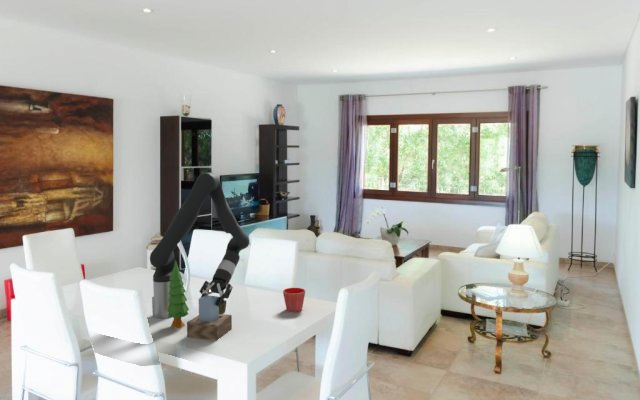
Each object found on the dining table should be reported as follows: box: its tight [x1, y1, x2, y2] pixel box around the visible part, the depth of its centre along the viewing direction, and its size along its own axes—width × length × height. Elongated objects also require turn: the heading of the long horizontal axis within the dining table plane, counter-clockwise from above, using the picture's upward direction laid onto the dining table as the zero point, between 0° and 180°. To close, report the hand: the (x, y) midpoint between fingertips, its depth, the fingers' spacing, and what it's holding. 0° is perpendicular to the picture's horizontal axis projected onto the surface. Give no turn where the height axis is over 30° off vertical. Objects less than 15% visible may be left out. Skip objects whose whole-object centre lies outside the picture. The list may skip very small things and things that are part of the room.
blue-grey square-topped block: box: [198, 294, 219, 323], centre depth 225 cm, size 6×6×10 cm
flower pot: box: [282, 287, 306, 313], centre depth 259 cm, size 11×11×10 cm
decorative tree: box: [167, 259, 190, 329], centre depth 234 cm, size 10×9×30 cm
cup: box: [219, 299, 227, 314], centre depth 247 cm, size 8×7×8 cm
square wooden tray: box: [186, 313, 233, 341], centre depth 225 cm, size 14×14×7 cm
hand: (208, 304), depth 225 cm, fingers open, 8 cm apart
